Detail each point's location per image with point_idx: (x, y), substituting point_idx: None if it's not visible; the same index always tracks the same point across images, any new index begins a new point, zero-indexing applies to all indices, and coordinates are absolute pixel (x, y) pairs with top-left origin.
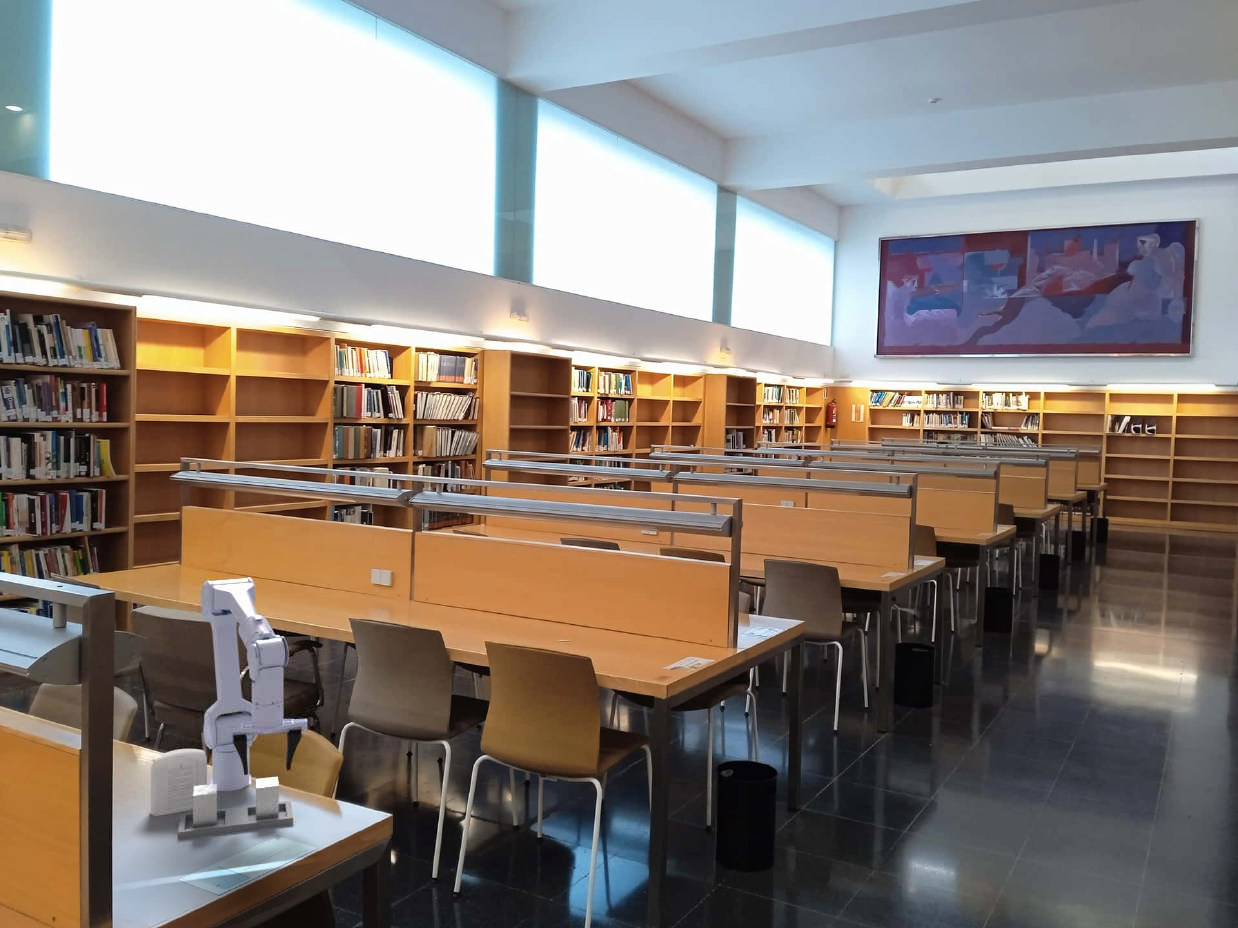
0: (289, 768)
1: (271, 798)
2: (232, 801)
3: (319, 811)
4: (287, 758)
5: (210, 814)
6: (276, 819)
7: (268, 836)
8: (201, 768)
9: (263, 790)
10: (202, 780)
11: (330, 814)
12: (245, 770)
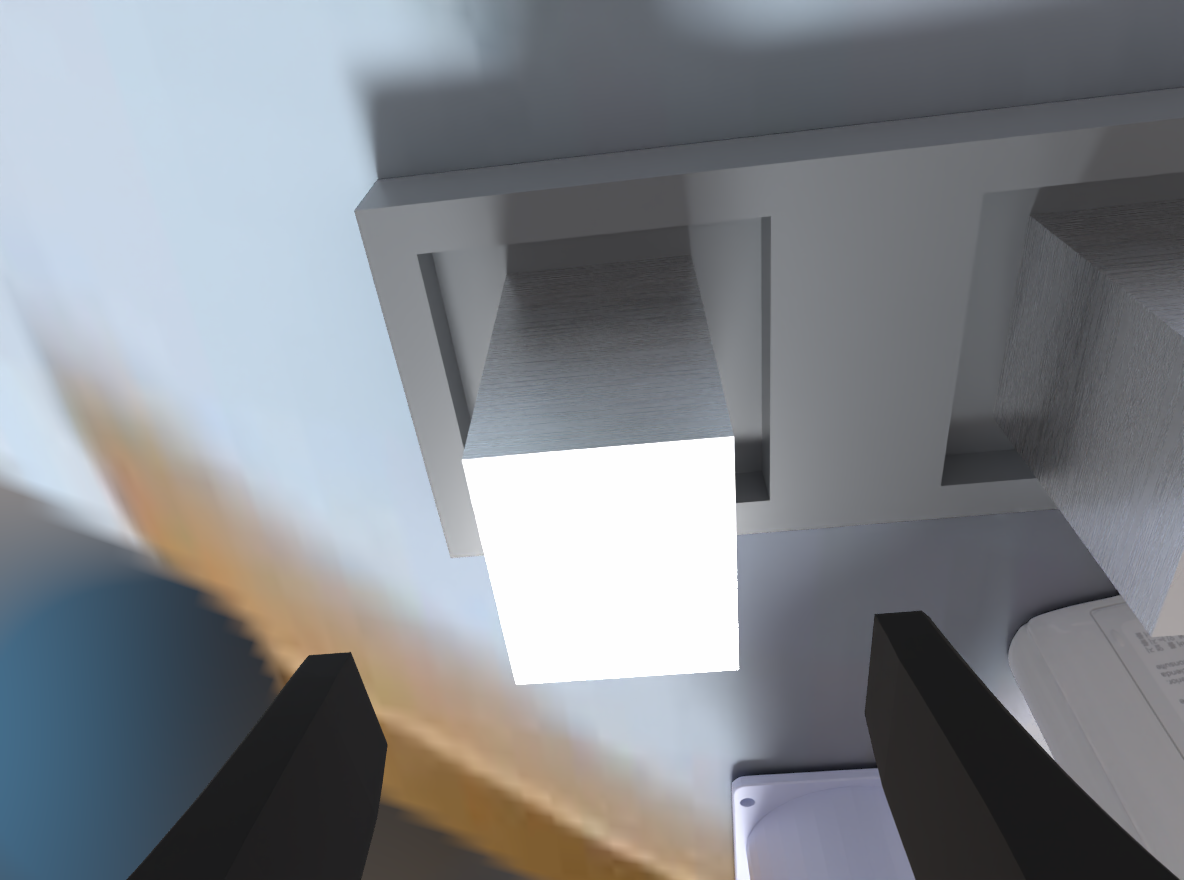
0: (305, 666)
1: (556, 374)
2: (842, 692)
3: (243, 455)
4: (285, 804)
5: (1163, 262)
6: (508, 205)
7: (571, 31)
8: None
9: (645, 421)
10: (1152, 795)
11: (138, 388)
12: (935, 650)
